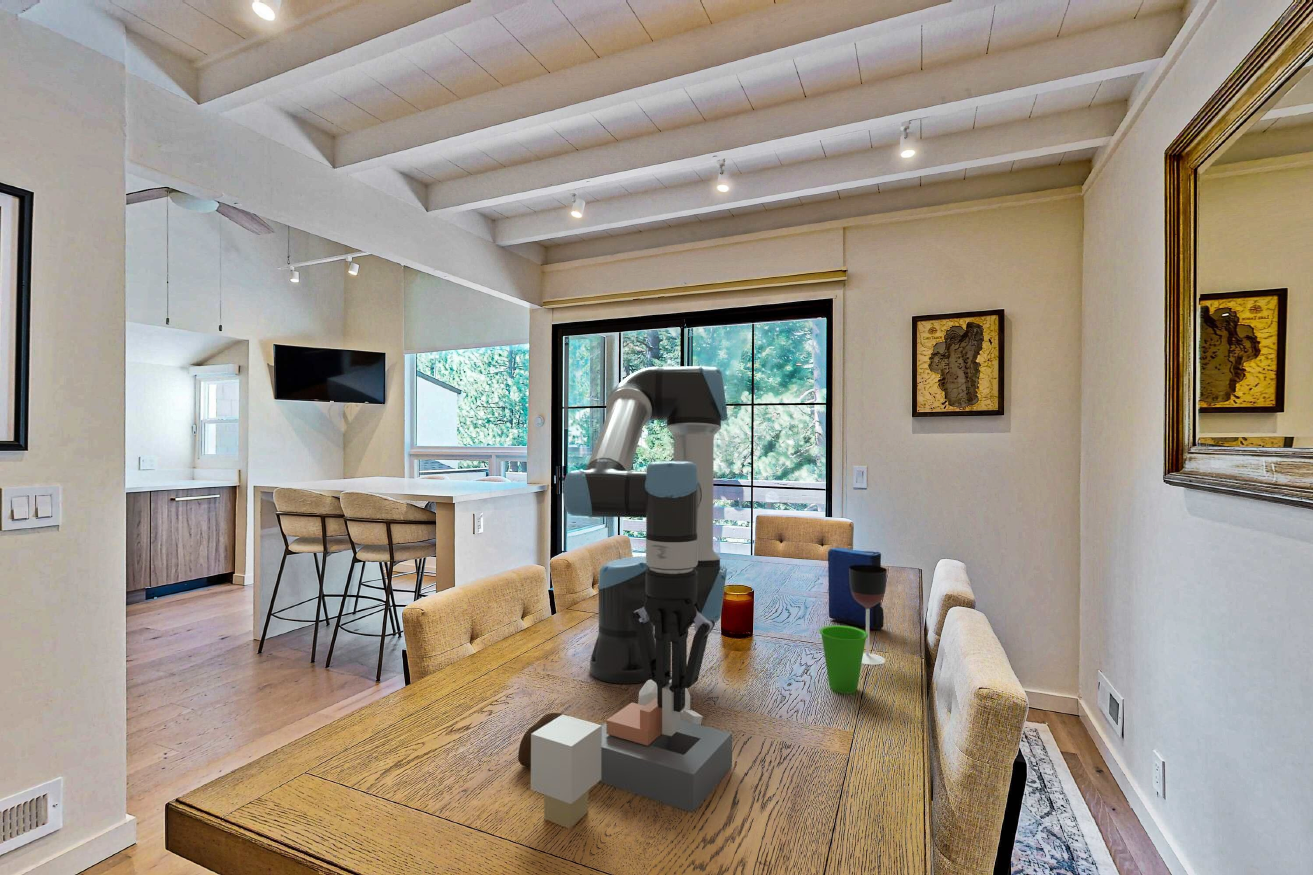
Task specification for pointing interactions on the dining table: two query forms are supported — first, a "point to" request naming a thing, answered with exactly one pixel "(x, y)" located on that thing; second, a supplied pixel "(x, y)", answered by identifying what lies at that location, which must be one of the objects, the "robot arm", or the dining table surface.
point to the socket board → (669, 764)
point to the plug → (566, 767)
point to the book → (840, 591)
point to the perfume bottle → (650, 694)
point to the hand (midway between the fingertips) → (671, 730)
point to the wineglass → (868, 597)
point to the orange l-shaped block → (637, 723)
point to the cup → (843, 656)
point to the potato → (525, 744)
